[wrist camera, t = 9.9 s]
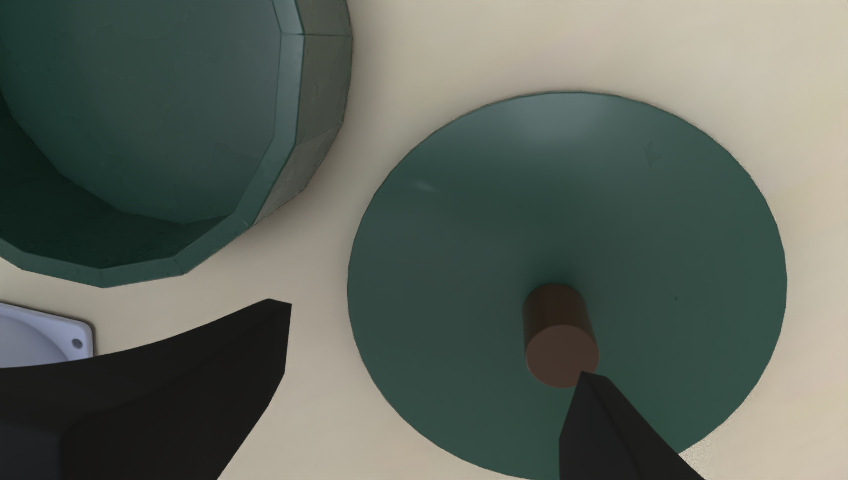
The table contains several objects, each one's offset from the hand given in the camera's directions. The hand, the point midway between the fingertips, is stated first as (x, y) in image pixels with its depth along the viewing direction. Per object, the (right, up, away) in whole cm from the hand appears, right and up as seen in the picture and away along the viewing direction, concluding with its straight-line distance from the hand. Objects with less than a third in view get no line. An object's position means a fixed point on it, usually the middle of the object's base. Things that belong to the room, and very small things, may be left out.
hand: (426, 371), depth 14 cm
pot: (-10, +11, +8) cm, 17 cm away
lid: (+5, +1, +8) cm, 10 cm away
